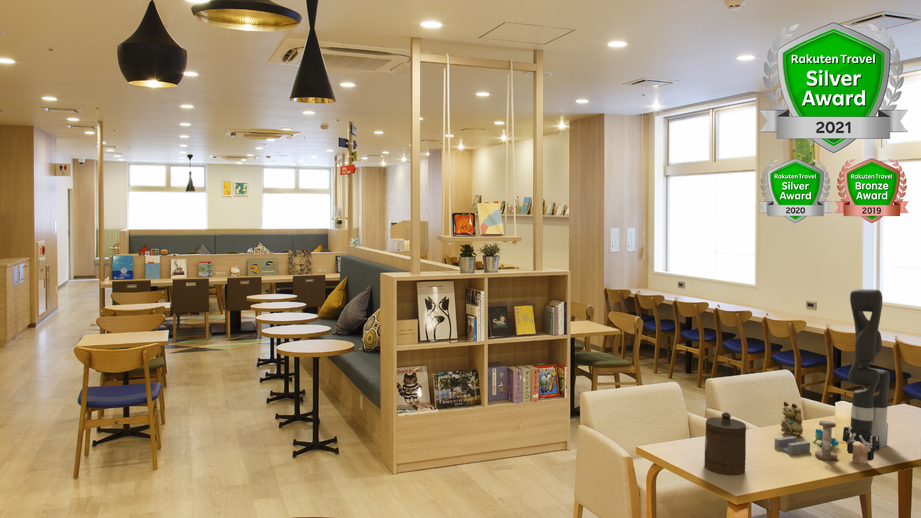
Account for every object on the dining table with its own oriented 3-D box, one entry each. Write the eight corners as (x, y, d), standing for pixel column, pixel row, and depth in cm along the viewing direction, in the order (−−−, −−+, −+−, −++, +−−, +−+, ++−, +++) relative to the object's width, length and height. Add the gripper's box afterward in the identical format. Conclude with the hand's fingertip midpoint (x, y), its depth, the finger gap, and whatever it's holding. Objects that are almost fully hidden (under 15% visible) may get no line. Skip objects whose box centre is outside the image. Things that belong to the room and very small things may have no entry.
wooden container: (719, 458, 264) (721, 405, 263) (753, 470, 252) (755, 414, 251) (696, 465, 256) (697, 411, 255) (729, 478, 244) (731, 420, 243)
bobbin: (824, 453, 272) (826, 419, 272) (841, 459, 265) (843, 424, 264) (810, 455, 270) (811, 420, 269) (827, 461, 262) (828, 426, 261)
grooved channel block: (792, 445, 282) (792, 436, 282) (809, 452, 274) (810, 442, 273) (774, 447, 279) (774, 438, 278) (791, 454, 270) (792, 445, 270)
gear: (844, 446, 277) (828, 429, 276) (836, 456, 276) (820, 440, 275) (826, 441, 288) (810, 425, 287) (818, 451, 287) (802, 435, 286)
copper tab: (861, 460, 264) (862, 444, 264) (868, 463, 261) (868, 446, 261) (852, 462, 262) (853, 445, 262) (859, 464, 259) (859, 447, 259)
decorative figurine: (777, 433, 298) (778, 401, 297) (787, 430, 303) (788, 398, 302) (797, 439, 290) (798, 406, 289) (807, 436, 295) (809, 403, 294)
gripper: (885, 421, 255) (883, 461, 256) (852, 411, 269) (850, 450, 269) (871, 423, 253) (869, 463, 253) (839, 413, 266) (837, 452, 267)
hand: (860, 456), depth 261 cm, fingers open, 8 cm apart
